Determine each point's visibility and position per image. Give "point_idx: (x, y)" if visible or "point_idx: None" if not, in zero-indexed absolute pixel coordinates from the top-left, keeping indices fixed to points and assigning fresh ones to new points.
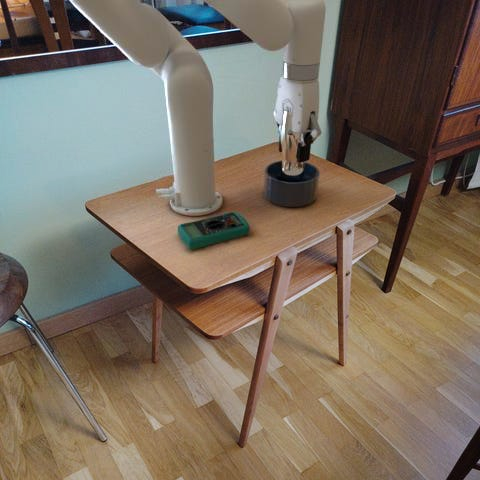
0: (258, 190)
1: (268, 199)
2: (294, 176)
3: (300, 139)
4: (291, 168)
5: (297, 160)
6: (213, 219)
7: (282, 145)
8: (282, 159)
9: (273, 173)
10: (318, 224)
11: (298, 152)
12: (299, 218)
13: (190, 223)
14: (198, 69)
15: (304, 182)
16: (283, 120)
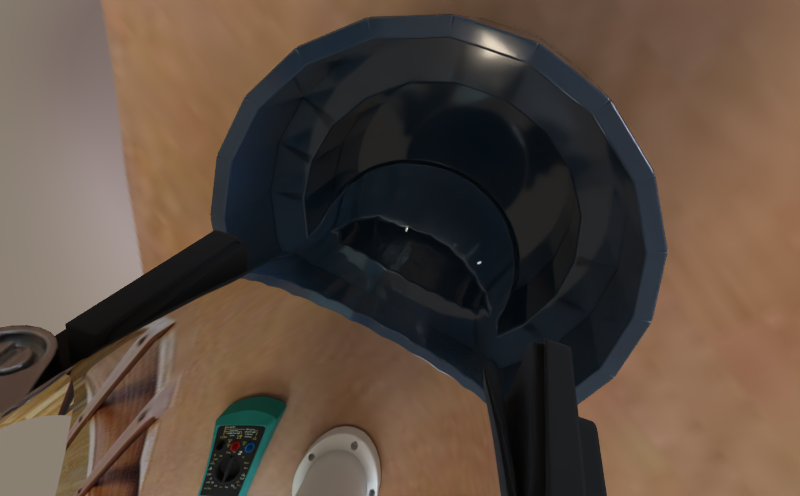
0: (677, 121)
1: (504, 25)
2: (335, 196)
3: (1, 401)
4: (338, 208)
5: (227, 239)
6: None
7: (392, 300)
8: (459, 253)
9: (622, 259)
10: (141, 35)
11: (163, 281)
12: (239, 9)
13: None
14: None
15: (220, 161)
16: None
